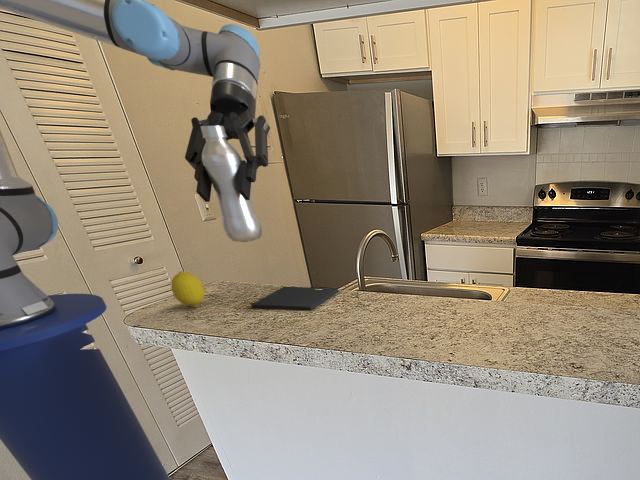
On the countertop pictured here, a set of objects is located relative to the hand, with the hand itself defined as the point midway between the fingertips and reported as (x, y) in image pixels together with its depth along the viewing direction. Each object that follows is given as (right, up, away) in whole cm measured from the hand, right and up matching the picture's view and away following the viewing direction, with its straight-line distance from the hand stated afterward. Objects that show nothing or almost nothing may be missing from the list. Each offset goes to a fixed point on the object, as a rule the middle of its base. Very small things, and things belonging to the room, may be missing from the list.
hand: (223, 195), depth 73 cm
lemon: (-15, -19, +15) cm, 28 cm away
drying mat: (+6, -16, +17) cm, 24 cm away
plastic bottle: (0, -6, +7) cm, 10 cm away
